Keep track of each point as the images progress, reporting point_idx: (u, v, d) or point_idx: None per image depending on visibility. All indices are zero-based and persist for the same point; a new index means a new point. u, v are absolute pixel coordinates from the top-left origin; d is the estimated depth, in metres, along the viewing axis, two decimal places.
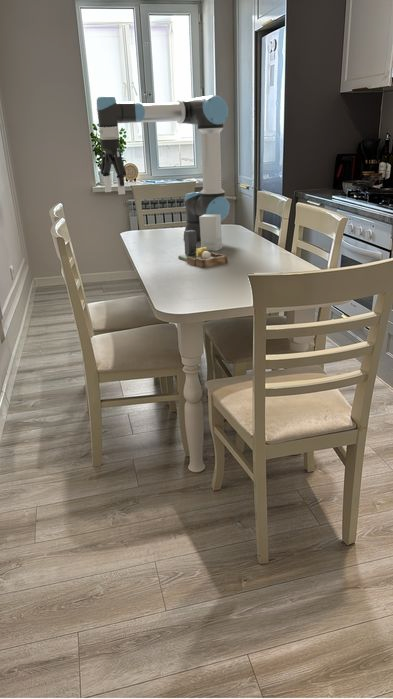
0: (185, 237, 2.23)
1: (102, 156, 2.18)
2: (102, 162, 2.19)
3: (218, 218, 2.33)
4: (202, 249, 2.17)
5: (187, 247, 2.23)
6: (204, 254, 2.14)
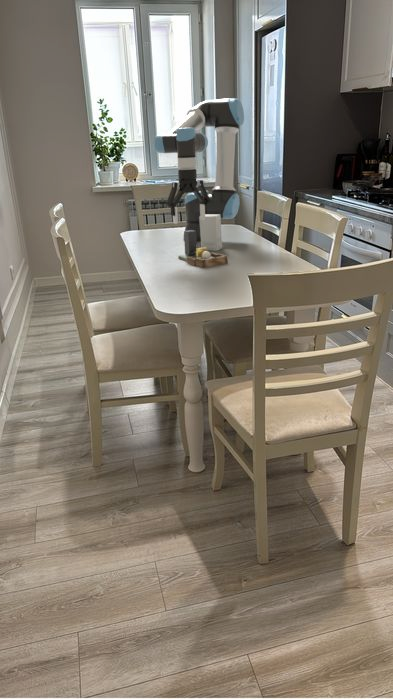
0: (185, 237, 2.23)
1: None
2: None
3: (218, 218, 2.33)
4: (202, 249, 2.17)
5: (187, 247, 2.23)
6: (204, 254, 2.14)
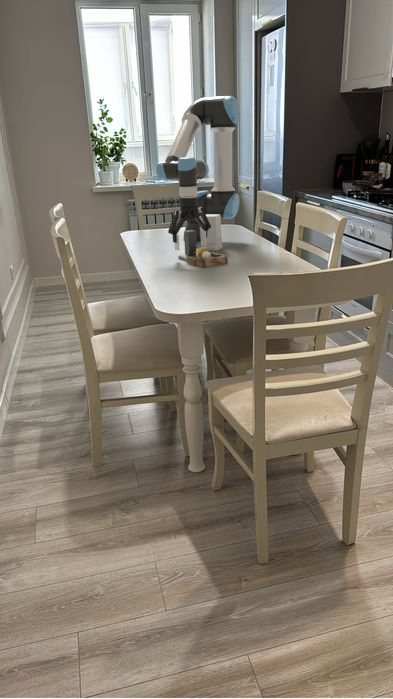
0: (185, 237, 2.23)
1: None
2: None
3: (218, 218, 2.33)
4: (202, 249, 2.17)
5: (187, 247, 2.23)
6: (204, 254, 2.14)
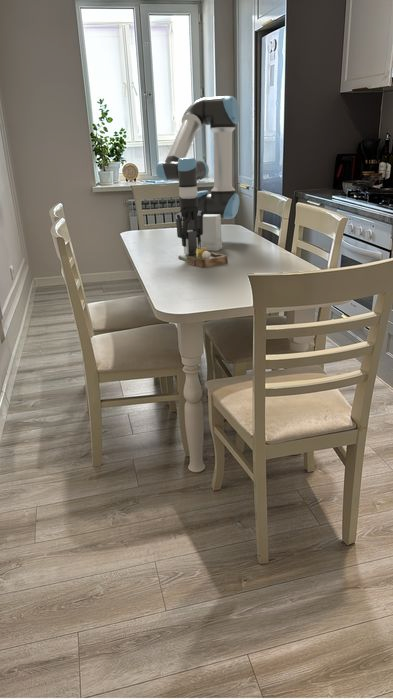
0: None
1: None
2: None
3: (218, 218, 2.33)
4: (202, 249, 2.17)
5: None
6: (204, 254, 2.14)
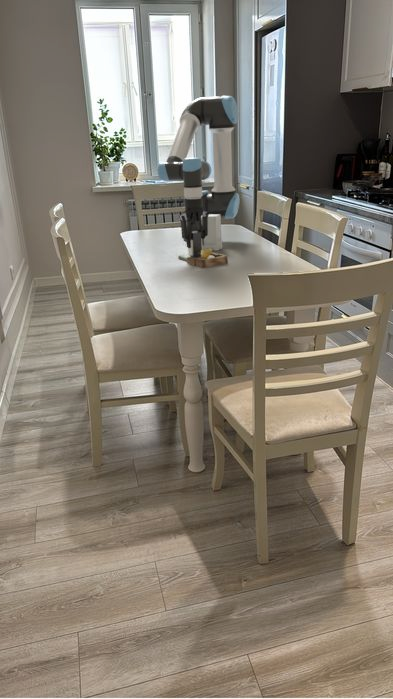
0: None
1: None
2: None
3: (218, 218, 2.33)
4: (207, 250, 2.14)
5: None
6: None
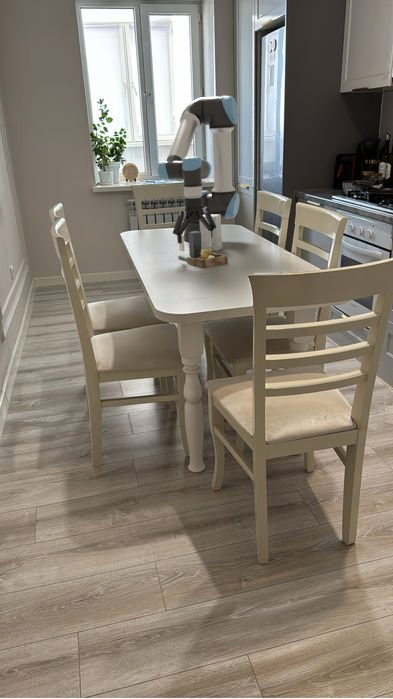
0: (189, 239, 2.20)
1: None
2: None
3: (218, 218, 2.33)
4: (207, 250, 2.14)
5: (192, 248, 2.20)
6: None
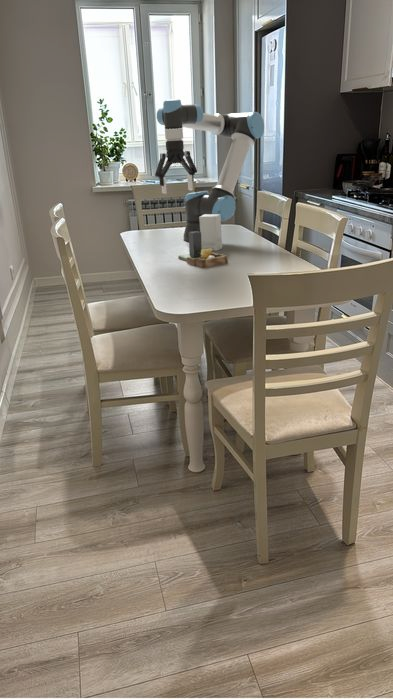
0: (189, 239, 2.20)
1: None
2: None
3: (218, 218, 2.33)
4: (207, 250, 2.14)
5: (192, 248, 2.20)
6: None
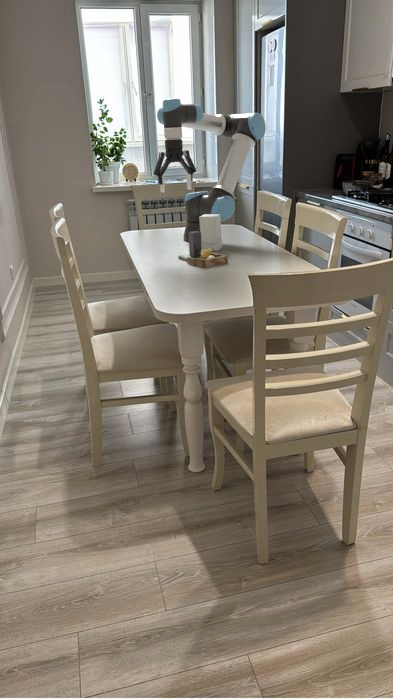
0: (189, 239, 2.20)
1: None
2: (187, 160, 2.29)
3: (218, 218, 2.33)
4: (207, 250, 2.14)
5: (192, 248, 2.20)
6: None
